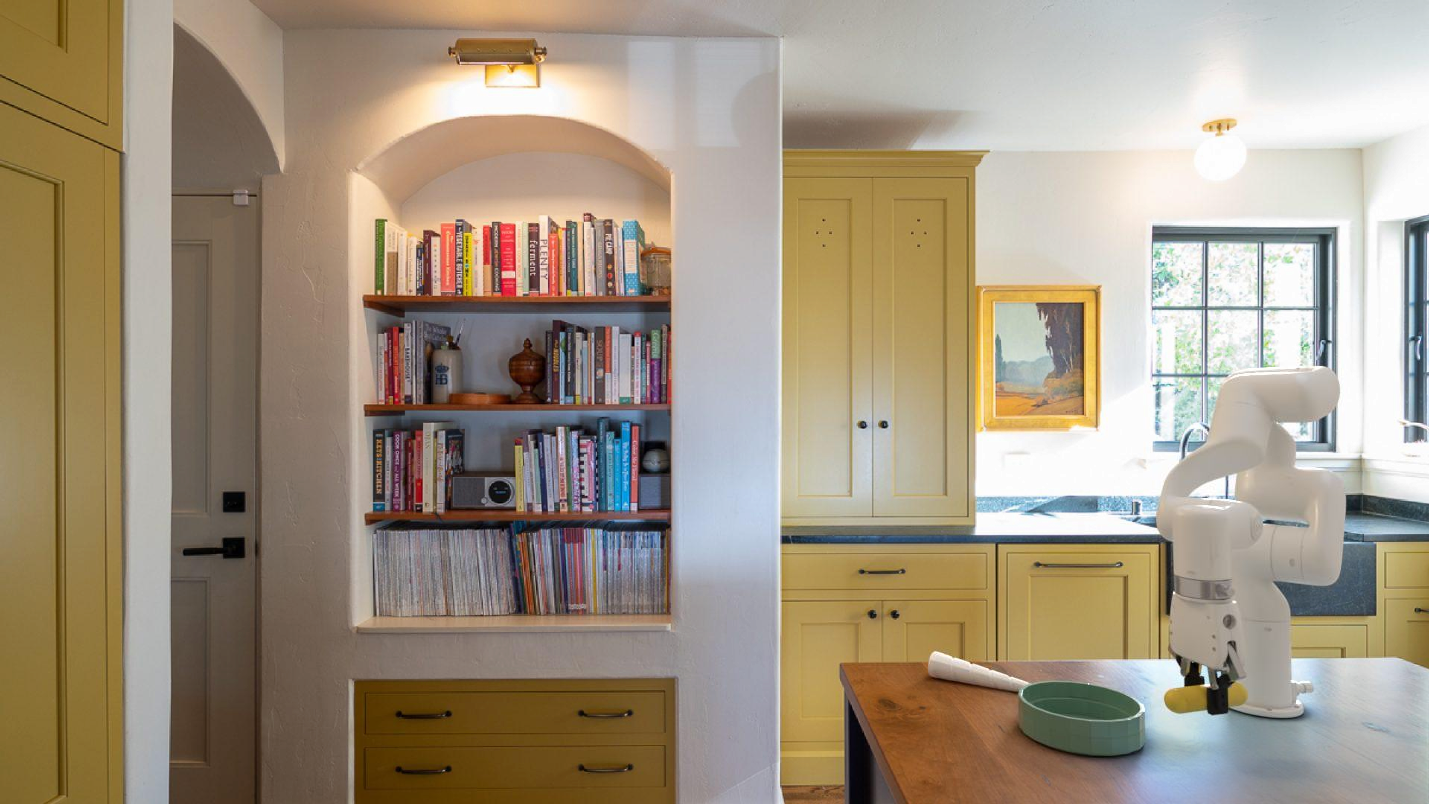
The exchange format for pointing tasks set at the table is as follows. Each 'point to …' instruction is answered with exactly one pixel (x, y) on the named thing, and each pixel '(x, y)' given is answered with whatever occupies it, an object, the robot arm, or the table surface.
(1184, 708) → the yellow rounded capsule
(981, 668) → the unicorn horn
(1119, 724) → the green round dish
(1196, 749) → the table surface
